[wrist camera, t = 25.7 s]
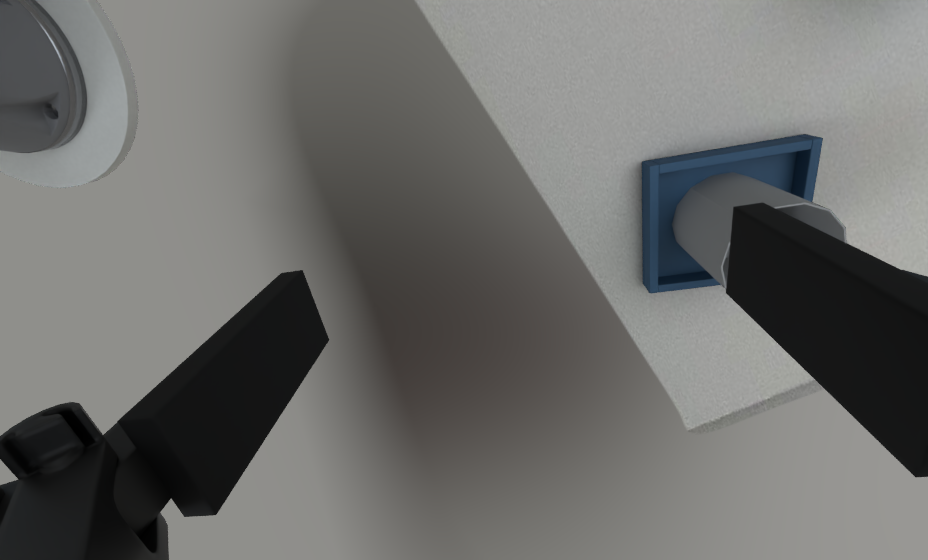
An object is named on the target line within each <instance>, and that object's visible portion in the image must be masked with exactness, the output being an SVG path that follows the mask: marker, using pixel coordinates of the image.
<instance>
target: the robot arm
mask: <svg viewBox="0 0 928 560" xmlns="http://www.w3.org/2000/svg"><path fill="white" fill-rule="evenodd" d="M86 110H87V92H86V85H85V80H84V76H83V73H82V69H81V66H80V64H79V61H78V59H77V56H76V54H75V52H74V50H73V48H72V46H71V44H70V43H69V41H68V39H67V38H66V36H65V35H64V33H63V31H62V30H61V29H60V27H59V26H58V25H57V23H56V22H55V21H54V19H53V18H52V17H51V16H50V15H49V14H48V12H47V11H46V10H45V9H44V8H43V7H42V6H41V5H40V4H39V3H38V2H37V1H35V0H0V150H1V151H8V152H16V153H33V152H39V151H45V150H51V149H55V148H59V147H61V146H63V145H65V144H67V143H68V142H70V141H71V140H72V139H73V138H74V137H75V136H76V135H77V134H78V132H79V131H80V129H81V127H82V125H83V123H84V119H85V116H86ZM726 293H727V294H728V295H729V296H730V297H731V298H732V299H733V300H734V301H735V302H736V303H737V304H738V305H739V306H740V307H741V308H742V309H743V310H744V311H745V312H746V313H747V314H748V315H749V316H750V317H751V318H752V319H753V320H754V321H755V322H756V323H758V324H759V325H760V326H761V327H762V328H763V329H764V330H765V331H766V332H767V333H768V334H769V335H770V336H771V337H772V338H773V339H774V340H775V341H776V342H777V343H778V344H779V345H780V346H781V347H782V348H783V349H784V350H785V351H786V352H787V353H788V354H789V355H790V356H791V357H792V358H794V359H795V360H796V361H797V362H798V363H799V364H800V365H801V366H802V367H803V368H804V369H805V370H806V371H807V372H808V373H809V374H810V375H811V376H812V377H813V378H814V379H815V380H816V381H817V382H818V383H819V384H820V385H821V386H822V387H823V388H824V389H825V390H826V391H827V392H828V393H830V394H831V395H832V396H833V397H834V398H835V399H836V400H837V401H838V402H839V403H840V404H841V405H842V406H843V407H844V408H845V409H846V410H847V411H848V412H849V413H850V414H851V415H852V416H853V417H854V418H855V419H856V420H857V421H858V422H859V423H860V424H861V425H862V426H863V427H864V428H866V429H867V430H868V431H869V432H870V433H871V434H872V435H873V436H874V437H875V438H876V439H877V440H878V441H879V442H880V443H881V444H882V445H883V446H884V447H885V448H886V449H887V450H888V451H889V452H890V453H891V454H892V455H893V456H894V457H896V459H898V461H900V462H901V464H903V465H904V466H905V467H906V468H907V469H908V470H909V471H910V472H911V473H912V474H913V475H914V476H915V477H928V277H927V276H923V275H919V274H916V273H912V272H908V271H905V270H900V269H898V268H896V267H894V266H892V265H890V264H888V263H886V262H884V261H882V260H880V259H878V258H876V257H874V256H872V255H869V254H867V253H865V252H863V251H861V250H859V249H857V248H855V247H853V246H851V245H849V244H847V243H845V242H843V241H841V240H839V239H837V238H835V237H833V236H831V235H829V234H827V233H825V232H822V231H820V230H818V229H816V228H814V227H812V226H810V225H808V224H806V223H804V222H802V221H800V220H798V219H796V218H794V217H792V216H790V215H788V214H786V213H784V212H782V211H780V210H778V209H775V208H773V207H771V206H769V205H767V204H765V203H763V202H762V203H755V204H749V205H742V206H735V207H733V217H732V229H731V240H730V252H729V263H728V275H727V287H726ZM328 341H329V338H328V336H327V333H326V331H325V328H324V325H323V323H322V320H321V317H320V315H319V312H318V309H317V307H316V304H315V302H314V299H313V297H312V294H311V291H310V289H309V286H308V283H307V281H306V278H305V276H304V273H303V271H302V270H300V271H293V272H286V273H281V274H280V275H279V276H278V277H277V278H275V279H274V280H273V281H272V282H271V283H270V284H269V285H268V286H267V287H266V288H264V289H263V290H262V291H261V292H260V293H259V294H258V295H257V296H255V297H254V298H253V299H252V300H251V301H250V302H249V303H248V304H247V305H245V306H244V307H243V308H242V309H241V310H240V311H239V312H238V313H237V314H236V315H234V316H233V317H232V318H231V319H230V320H229V321H228V322H227V323H226V324H224V325H223V326H222V327H221V328H220V329H219V330H218V331H217V332H216V333H215V334H213V335H212V336H211V337H210V338H209V339H208V340H207V341H206V342H205V343H203V344H202V345H201V346H200V347H199V348H198V349H197V350H196V351H195V352H194V353H193V354H191V355H190V356H189V357H188V358H187V359H186V360H185V361H184V362H182V363H181V364H180V365H179V366H178V367H177V368H176V369H175V370H174V371H173V372H171V374H169V375H168V376H167V377H166V378H165V379H164V380H163V381H161V383H159V384H158V385H157V386H156V387H155V388H154V389H153V390H152V391H151V392H149V393H148V394H147V395H146V396H145V397H144V398H143V399H142V400H141V401H139V402H138V403H137V404H136V405H135V406H134V407H133V408H132V409H131V410H130V411H128V412H127V413H126V414H125V415H124V416H123V417H122V418H121V419H120V420H119V421H118V422H117V423H116V424H115V425H114V426H113V427H112V428H111V429H110V430H108V431H107V432H106V433H105V434H104V435H102V433H101V432H100V431H99V429H98V428H97V426H96V425H95V424H94V422H93V421H92V420H91V418H90V417H89V416H88V414H87V413H86V411H85V410H84V409H83V407H82V406H81V405H80V404H79V403H74V402H70V403H65V404H60V405H57V406H54V407H51V408H48V409H46V410H43V411H41V412H39V413H37V414H35V415H33V416H30V417H28V418H26V419H25V420H23V421H22V422H20V423H18V424H17V425H15V426H13V427H12V428H10V429H9V430H8V431H6V432H5V433H4V434H3V435H1V436H0V459H1V460H2V461H3V463H4V464H5V465H6V466H7V467H8V468H9V469H10V470H11V472H12V473H13V474H14V475H15V476H16V477H17V478H18V479H19V480H16V481H13V482H9V483H7V484H3V485H0V560H169V554H168V525H167V523H166V521H165V519H164V517H163V516H162V515H161V513H160V512H161V510H162V509H163V508H164V507H165V505H166V504H167V503H168V501H169V500H170V499H171V498H172V500H173V501H174V503H175V504H176V505H177V507H178V508H179V510H180V511H181V513H182V514H183V515H184V517H189V516H208V515H216V514H217V513H218V511H219V510H220V508H221V506H222V505H223V503H224V502H225V500H226V499H227V497H228V496H229V494H230V492H231V491H232V489H233V488H234V486H235V485H236V483H237V482H238V480H239V479H240V477H241V476H242V474H243V472H244V471H245V469H246V468H247V466H248V465H249V463H250V461H251V460H252V459H253V457H254V455H255V454H256V452H257V451H258V449H259V448H260V446H261V445H262V443H263V442H264V440H265V438H266V437H267V435H268V434H269V432H270V431H271V429H272V428H273V426H274V425H275V423H276V421H277V420H278V418H279V416H280V415H281V414H282V412H283V410H284V409H285V408H286V406H287V404H288V403H289V401H290V400H291V398H292V397H293V395H294V394H295V392H296V391H297V389H298V387H299V386H300V384H301V383H302V381H303V380H304V378H305V377H306V375H307V374H308V372H309V370H310V369H311V367H312V365H313V364H314V363H315V361H316V360H317V358H318V357H319V355H320V353H321V352H322V350H323V349H324V347H325V345H326V344H327V343H328Z"/></svg>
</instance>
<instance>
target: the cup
mask: <svg viewBox="0 0 928 560" xmlns="http://www.w3.org/2000/svg"><path fill="white" fill-rule="evenodd" d="M762 202H763V203H765V204H767V205H769V206H771V207H773V208H775V209H778V210H780V211H782V212H784V213H786V214H788V215H790V216H792V217H794V218H796V219H798V220H800V221H802V222H804V223H806V224H808V225H810V226H812V227H814V228H816V229H818V230H820V231H822V232H825V233H827V234H829V235H831V236H833V237H835V238H837V239H839V240H841V241H843V242H845V243H847V240H846V227H845V226H844V225H843V224H842V223H841V221H840V220H839V219H838V218H837V217H836V216H835V214H834V213H833V212H832V211H831V210H830V209H827V208H825V207H822V206H820V205H818V204H815V203H813V202H810V201H808V200H805V199H803V198H800V197H798V196H796V195H793V194H791V193H788V192H786V191H783V190H781V189H778V188H776V187H774V186H771V185H769V184H766V183H764V182H761V181H759V180H757V179H754V178H751V177H748V176H744V175H741V174H737V173H734V172H731V173H725V174H719V175H713V176H710V177H708V178H706V179H705V180H703V181H701V182H700V183H698V184H696V185H695V186H693V187H691V188H690V189H689V191H688V192H687V193H686V194H685V196H684V197H683V198H682V200H681V201H680V202H679V203H678V205H677V207H676V211H675V214H674V218H673V222H672V227H673V231H674V235H675V239H676V242H677V243H678V244H679V245H680V246H681V247H682V248H683V249H684V250H685V251H686V252H687V253H688V254H689V255H690V256H691V257H692V258H693V259H695V260H696V261H697V262H698V263H699V264H700V265H701V266H702V267H703V268H704V269H705V270H706V271H707V272H708V273H709V274H710V275H711V276H712V277H713V278H714V279H716V280H717V281H718V282H719V283H720V284H721V285H722V286H723V287H724V288H725V289H726V287H727V275H728V263H729V252H730V240H731V229H732V217H733V207H735V206H742V205H749V204H755V203H762Z"/></svg>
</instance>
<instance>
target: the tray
mask: <svg viewBox="0 0 928 560" xmlns="http://www.w3.org/2000/svg"><path fill="white" fill-rule="evenodd" d="M822 140H823V138H821V137H816V136H811V135H807V134H803V135H797V136H791V137H785V138H779V139H773V140H767V141H762V142H756V143H750V144H744V145H738V146H732V147H726V148H720V149H714V150H708V151H702V152H696V153H690V154H684V155H678V156H672V157H666V158H660V159H654V160H648V161H642V238H643V284H644V286H645V287H646V289H647V290H648V291H649V293H657V292H666V291H674V290H682V289H690V288H698V287H707V286H715V285H721V284H720V283H719V282H718V281H717V280H716V279H714V278H713V277H712V276H711V275H710V274H709V273H708V272H707V271H706V270H705V269H704V268H703V267H702V266H701V265H700V264H699V263H698V262H697V261H696V260H695V259H693V258H692V257H691V256H690V255H689V254H688V253H687V252H686V251H685V250H684V249H683V248H682V247H681V246H680V245H679V244H678V243H677V242H676V239H675V235H674V231H673V227H672V222H673V218H674V214H675V211H676V207H677V205H678V203H679V202H680V201H681V200H682V198H683V197H684V196H685V194H686V193H687V192H688V191H689V189H690V188H691V187H693V186H695V185H696V184H698V183H700V182H701V181H703V180H705V179H706V178H708V177H710V176H713V175H719V174H725V173H731V172H734V173H737V174H741V175H744V176H748V177H751V178H754V179H757V180H759V181H761V182H764V183H766V184H769V185H771V186H774V187H776V188H778V189H781V190H783V191H786V192H788V193H791V194H793V195H796V196H798V197H800V198H803V199H805V200H808V201H810V202H812V200H813V194H814V188H815V182H816V176H817V170H818V164H819V158H820V152H821V146H822Z"/></svg>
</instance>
